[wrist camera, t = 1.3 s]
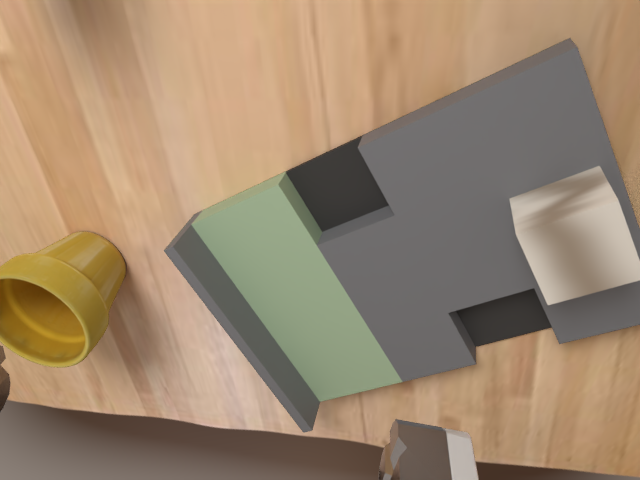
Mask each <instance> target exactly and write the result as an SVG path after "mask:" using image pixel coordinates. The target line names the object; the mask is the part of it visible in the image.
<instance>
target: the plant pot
mask: <svg viewBox="0 0 640 480" xmlns="http://www.w3.org/2000/svg"><path fill="white" fill-rule="evenodd" d="M125 273H126V266H125V262H124V259H123V257H122V255H121V254H120V252H119V251H118V249H117V248H116V247H115V246H114V245H113V244H112V243H111V242H110V241H108V240H107V239H105V238H103V237H102V236H99V235H97V234H95V233H91V232H76V233H73V234H71V235H69V236H67V237H65V238H63V239H61V240H59V241H57V242H56V243H54V244H52V245H50V246H48V247H46V248H44V249H42V250H40V251H38V252H36V253H29V254H22V255H19V256H16V257H14V258H12V259H10V260H9V261H7V262H6V263H5V264H3V265H2V266H1V267H0V342H1V343H2V344H3V345H5V346H6V347H7V348H8V349H10V350H11V351H13V352H14V353H16V354H17V355H19V356H21V357H23V358H25V359H27V360H29V361H32V362H34V363H37V364H40V365H44V366H49V367H57V368H59V367H69V366H73V365H76V364H78V363H80V362H81V361H83V360H84V359H85V358H86V357H87V355H88V354H89V353H90V352H91V351H92V349H93V348H94V347H95V346H96V344H97V343H98V341H99V340H100V339H101V337H102V336H103V334H104V333H105V331H106V329H107V326H108V322H109V314H108V312H109V310H110V308H111V305H112V303H113V301H114V299H115V297H116V294H117V292H118V290H119V288H120V286H121V284H122V282H123V280H124V277H125Z"/></svg>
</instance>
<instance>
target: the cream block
mask: <svg viewBox="0 0 640 480" xmlns="http://www.w3.org/2000/svg"><path fill="white" fill-rule="evenodd" d="M509 200H510V205H511V211H512V216H513V222H514V227H515V233H516V236H517V238H518V241H519V243H520V245H521V247H522V249H523V252H524V254H525V256H526V258H527V260H528V263H529V265H530V267H531V269H532V272H533V274H534V276H535V278H536V280H537V283H538V285H539V287H540V289H541V291H542V294H543V296H544V298H545V300H546V303H547V305H551V304H555V303H559V302H562V301H566V300H570V299H573V298H577V297H581V296H584V295H588V294H592V293H595V292H599V291H603V290H606V289H610V288H614V287H617V286H621V285H624V284H628V283H632V282H635V281H639V280H640V260H639V257H638V254H637V251H636V249H635V246H634V243H633V240H632V237H631V234H630V232H629V229H628V226H627V223H626V220H625V217H624V215H623V212H622V209H621V206H620V203H619V200H618V198H617V197H616V195H615V193H614V191H613V189H612V188H611V186H610V184H609V182H608V180H607V178H606V177H605V175H604V173H603V171H602V169H601V167H600V166H597V167H594V168H592V169H589V170H586V171H583V172H581V173H578V174H575V175H573V176H570V177H567V178H564V179H562V180H559V181H556V182H553V183H551V184H548V185H545V186H542V187H540V188H537V189H534V190H532V191H529V192H526V193H523V194H521V195H518V196H515V197H512V198H510V199H509Z"/></svg>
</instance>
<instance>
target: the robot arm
mask: <svg viewBox="0 0 640 480" xmlns="http://www.w3.org/2000/svg"><path fill="white" fill-rule="evenodd" d="M5 359H6V357H5V353H4V349H3V346H0V412H1V410H2V409H3V407H4V405H5V403H6V400H7V398H8V395H9V391H10V377H9V374H8V373H7V372H6V371H5V369H4V368H3V367H2V366H1V363H2V362H3V361H4V360H5ZM379 480H479V479H478V473H477V468H476V462H475V456H474V451H473V445H472V440H471V437H470V435H469V433H467V432H462V431H456V430H451V429H446V428H442V427H436V426H430V425H425V424H419V423H414V422H408V421H402V420H397V419H395V421H394V422H393V424H392V427H391V430H390V443H389V444H387V445H385V447H384V451H383V454H382V457H381V463H380V468H379Z"/></svg>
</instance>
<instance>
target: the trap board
mask: <svg viewBox="0 0 640 480" xmlns="http://www.w3.org/2000/svg"><path fill="white" fill-rule="evenodd" d="M597 166H600V167H601V169H602V171H603V173H604V175H605V177H606V178H607V180H608V182H609V184H610V186H611V188H612V189H613V191H614V193H615V195H616V197H617V198H618V200H619V203H620V206H621V209H622V212H623V215H624V217H625V220H626V223H627V226H628V229H629V232H630V234H631V237H632V240H633V243H634V246H635V249H636V251H637V254H638V257H639V260H640V229H639V226H638V223H637V220H636V217H635V214H634V211H633V208H632V206H631V203H630V200H629V197H628V194H627V191H626V188H625V185H624V182H623V179H622V176H621V173H620V170H619V168H618V165H617V162H616V159H615V156H614V153H613V150H612V147H611V144H610V141H609V138H608V135H607V133H606V130H605V127H604V124H603V121H602V118H601V115H600V112H599V109H598V106H597V103H596V100H595V98H594V95H593V92H592V89H591V86H590V83H589V80H588V77H587V74H586V71H585V68H584V65H583V63H582V60H581V57H580V54H579V51H578V48H577V46H576V45H575V44H574V43H573V41H572V40H571V39H570V38H569V39H567V40H565V41H563V42H560V43H558V44H556V45H554V46H552V47H550V48H548V49H546V50H543V51H541V52H539V53H537V54H535V55H533V56H531V57H529V58H526V59H524V60H522V61H520V62H518V63H516V64H514V65H511V66H509V67H507V68H505V69H503V70H501V71H499V72H497V73H494V74H492V75H490V76H488V77H486V78H484V79H482V80H480V81H477V82H475V83H473V84H471V85H469V86H467V87H465V88H462V89H460V90H458V91H456V92H454V93H452V94H450V95H448V96H445V97H443V98H441V99H439V100H437V101H435V102H433V103H431V104H428V105H426V106H424V107H422V108H420V109H418V110H416V111H414V112H411V113H409V114H407V115H405V116H403V117H401V118H399V119H396V120H394V121H392V122H390V123H388V124H386V125H384V126H382V127H379V128H377V129H375V130H373V131H371V132H369V133H367V134H365V135H362V136H360V137H358V138H356V139H354V140H352V141H350V142H347V143H345V144H343V145H341V146H339V147H337V148H335V149H333V150H330V151H328V152H326V153H324V154H322V155H320V156H318V157H316V158H313V159H311V160H309V161H307V162H305V163H303V164H301V165H299V166H296V167H294V168H292V169H290V170H288V171H286V172H284V173H281V174H279V175H277V176H275V177H273V178H271V179H269V180H267V181H264V182H262V183H260V184H258V185H256V186H254V187H252V188H250V189H247V190H245V191H243V192H241V193H239V194H237V195H235V196H232V197H230V198H228V199H226V200H224V201H222V202H220V203H218V204H215V205H213V206H211V207H209V208H207V209H205V210H203V211H201V212H198V213H196V214H194V215H193V217H192V218H191V219H190V220H189V221H188V223H187V224H186V225H185V226H184V227H183V228H182V230H181V231H180V232H179V233H178V234H177V236H176V237H175V238H174V239H173V240H172V242H171V243H170V244H169V245H168V246H167V248H166V249H165V250H164V252H165V253H166V254H167V256H168V257H169V258H170V259H171V261H172V262H173V263H174V265H175V266H176V267H177V269H178V270H179V271H180V272H181V274H182V275H183V276H184V278H185V279H186V280H187V282H188V283H189V284H190V285H191V287H192V288H193V289H194V291H195V292H196V293H197V295H198V296H199V297H200V298H201V300H202V301H203V302H204V304H205V305H206V306H207V308H208V309H209V310H210V311H211V313H212V314H213V315H214V317H215V318H216V319H217V321H218V322H219V323H220V325H221V326H222V327H223V328H224V330H225V331H226V332H227V334H228V335H229V336H230V338H231V339H232V340H233V341H234V343H235V344H236V345H237V347H238V348H239V349H240V351H241V352H242V353H243V354H244V356H245V357H246V358H247V360H248V361H249V362H250V364H251V365H252V366H253V367H254V369H255V370H256V371H257V373H258V374H259V375H260V377H261V378H262V379H263V381H264V382H265V383H266V384H267V386H268V387H269V388H270V390H271V391H272V392H273V394H274V395H275V396H276V397H277V399H278V400H279V401H280V403H281V404H282V405H283V407H284V408H285V409H286V410H287V412H288V413H289V414H290V416H291V417H292V418H293V420H294V421H295V422H296V423H297V425H298V426H299V427H300V429H301V430H302V431H303V432H308V431H312V430H313V426H314V422H315V419H316V415H317V411H318V408H319V404H320V402H321V401H326V400H330V399H334V398H338V397H342V396H346V395H350V394H355V393H359V392H363V391H367V390H371V389H375V388H379V387H383V386H388V385H392V384H396V383H400V382H404V381H408V380H412V379H417V378H421V377H425V376H429V375H433V374H437V373H441V372H446V371H450V370H454V369H458V368H462V367H466V366H470V365H475V364H476V349H475V347H476V346H480V345H484V344H488V343H492V342H496V341H500V340H504V339H508V338H511V337H515V336H519V335H523V334H527V333H531V332H535V331H539V330H543V329H547V328H551V327H552V328H553V331H554V333H555V335H556V337H557V339H558V342H559V344H561V343H566V342H570V341H574V340H578V339H582V338H586V337H590V336H595V335H599V334H603V333H607V332H611V331H615V330H619V329H623V328H628V327H632V326H636V325H640V280H639V281H635V282H632V283H628V284H624V285H621V286H617V287H614V288H610V289H606V290H603V291H599V292H595V293H592V294H588V295H584V296H581V297H577V298H573V299H570V300H566V301H562V302H559V303H555V304H551V305H547V303H546V300H545V298H544V296H543V294H542V291H541V289H540V287H539V285H538V283H537V280H536V278H535V276H534V274H533V272H532V269H531V267H530V265H529V263H528V260H527V258H526V256H525V254H524V252H523V249H522V247H521V245H520V243H519V241H518V238H517V236H516V233H515V227H514V222H513V216H512V211H511V205H510V200H509V199H510V198H512V197H515V196H518V195H521V194H523V193H526V192H529V191H532V190H534V189H537V188H540V187H542V186H545V185H548V184H551V183H553V182H556V181H559V180H562V179H564V178H567V177H570V176H573V175H575V174H578V173H581V172H583V171H586V170H589V169H592V168H594V167H597Z"/></svg>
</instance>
